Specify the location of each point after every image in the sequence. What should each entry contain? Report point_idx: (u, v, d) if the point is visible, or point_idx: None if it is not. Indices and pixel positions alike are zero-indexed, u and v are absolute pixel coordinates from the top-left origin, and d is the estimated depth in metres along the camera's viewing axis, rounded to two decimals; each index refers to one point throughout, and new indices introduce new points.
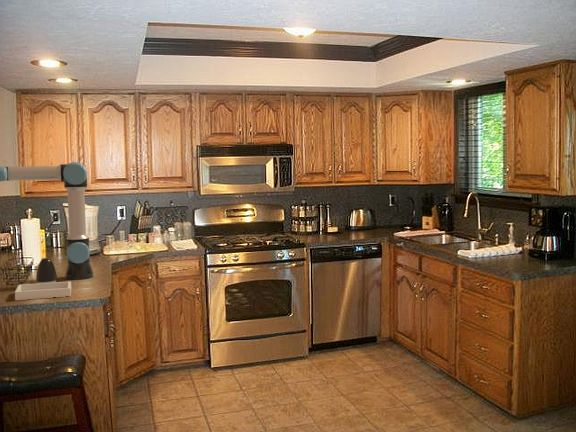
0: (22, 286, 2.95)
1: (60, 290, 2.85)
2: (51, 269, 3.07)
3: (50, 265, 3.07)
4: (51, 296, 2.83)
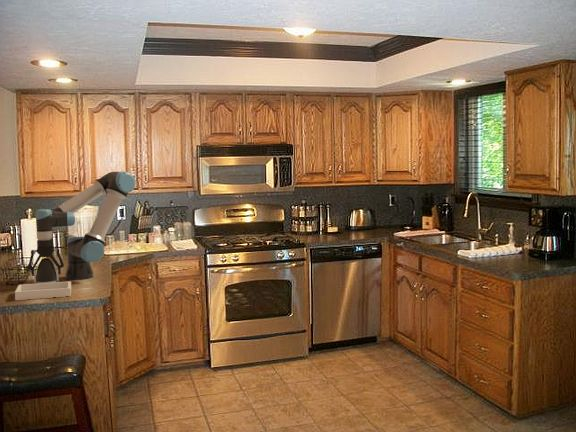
0: (22, 286, 2.95)
1: (60, 290, 2.85)
2: (51, 269, 3.07)
3: (49, 265, 3.07)
4: (51, 296, 2.83)
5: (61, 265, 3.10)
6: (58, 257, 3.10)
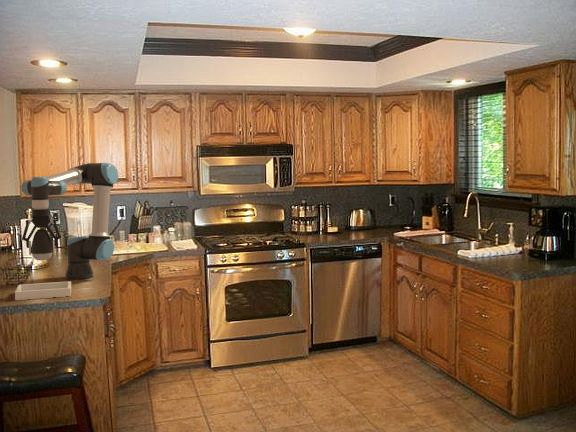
0: (22, 286, 2.95)
1: (60, 290, 2.85)
2: (47, 240, 2.87)
3: (45, 236, 2.87)
4: (51, 296, 2.83)
5: (58, 236, 2.90)
6: (55, 228, 2.89)
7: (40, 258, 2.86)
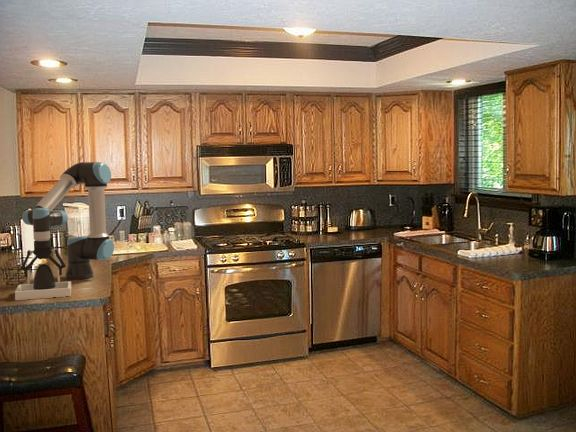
0: (22, 286, 2.95)
1: (60, 290, 2.85)
2: (49, 276, 2.88)
3: (48, 272, 2.88)
4: (51, 296, 2.83)
5: (62, 265, 2.92)
6: (58, 258, 2.91)
7: None
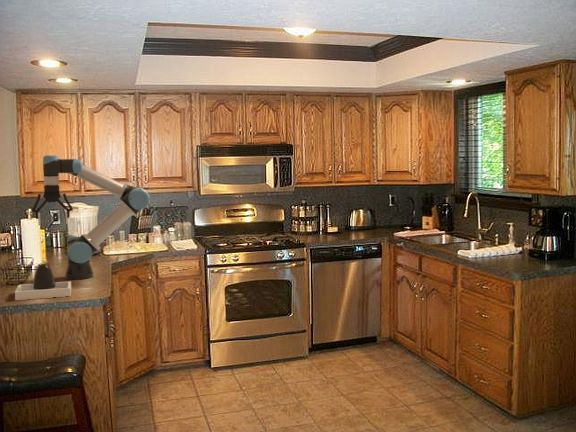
0: (22, 286, 2.95)
1: (60, 290, 2.85)
2: (49, 276, 2.88)
3: (47, 272, 2.88)
4: (51, 296, 2.83)
5: (70, 209, 3.17)
6: (66, 201, 3.16)
7: None
